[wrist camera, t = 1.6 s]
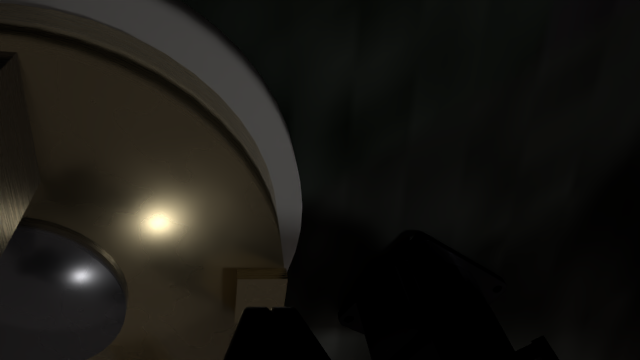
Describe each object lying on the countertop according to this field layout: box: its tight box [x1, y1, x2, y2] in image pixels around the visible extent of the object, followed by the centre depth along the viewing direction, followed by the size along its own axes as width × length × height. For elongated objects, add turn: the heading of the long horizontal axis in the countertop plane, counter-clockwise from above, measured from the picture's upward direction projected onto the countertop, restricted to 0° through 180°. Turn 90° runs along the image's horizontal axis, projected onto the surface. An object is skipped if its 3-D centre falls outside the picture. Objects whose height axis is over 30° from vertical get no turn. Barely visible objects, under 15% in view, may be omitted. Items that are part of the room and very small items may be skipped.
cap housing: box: [0, 0, 302, 271], centre depth 19 cm, size 18×18×2 cm
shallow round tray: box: [0, 3, 288, 360], centre depth 16 cm, size 16×16×7 cm
